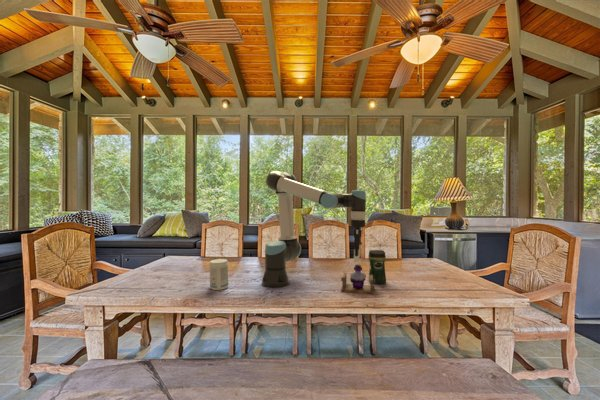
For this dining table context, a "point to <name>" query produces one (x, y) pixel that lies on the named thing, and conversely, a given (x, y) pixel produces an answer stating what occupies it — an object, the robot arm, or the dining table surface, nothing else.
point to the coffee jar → (377, 266)
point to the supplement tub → (218, 274)
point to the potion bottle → (357, 277)
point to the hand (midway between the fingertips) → (357, 259)
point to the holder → (349, 288)
